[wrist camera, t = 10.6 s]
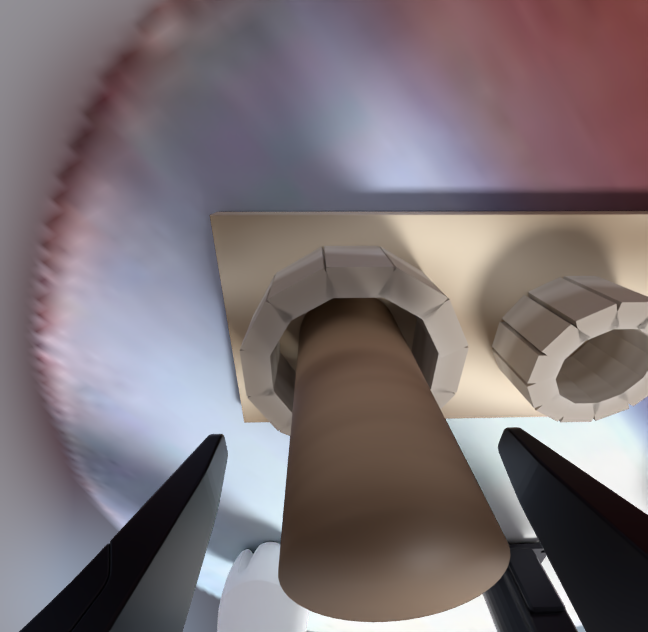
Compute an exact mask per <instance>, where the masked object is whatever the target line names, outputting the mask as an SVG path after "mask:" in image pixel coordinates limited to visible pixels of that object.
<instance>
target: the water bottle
mask: <svg viewBox="0 0 648 632" xmlns="http://www.w3.org/2000/svg"><path fill="white" fill-rule="evenodd" d="M279 555H280V544H279V543H276V542H265V543H263V544H260V545H259V547H258V548H257V549H256V551H255V552H254V554H253V553H252V552H251V551H250V550H249V549H246V550H243V551H242V552H241V553H240V554H239V555H238V557H237V559H236V560H235V562H234V563H233V565H232V567H231V569H230V571H229V574H228V576H227V579H226V582H225V585H224V589H223V593H222V597H221V601H220V606H219V612H218V628H217V632H306V630H307V624H308V618H309V610H308V609H305V608H303V607H302V606H300V605H298V604H297V603H295V602H294V601H293V600H291V599H290V598H289V597H288V596H287V595H286V593H285V592H284V591H283V589H282V587H281V586H280V583H279V579H278V566H279Z"/></svg>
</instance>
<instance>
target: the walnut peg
mask: <svg viewBox="0 0 648 632" xmlns="http://www.w3.org/2000/svg"><path fill="white" fill-rule="evenodd" d="M509 561H510V547H509V545H508V542H507V540H506V538H505V536H504V534H503V532H502V530H501V528H500V526H499V524H498V522H497V520H496V518H495V516H494V514H493V512H492V510H491V508H490V506H489V504H488V502H487V500H486V498H485V496H484V494H483V492H482V490H481V488H480V486H479V484H478V482H477V480H476V478H475V476H474V474H473V473H472V471H471V469H470V467H469V465H468V463H467V461H466V459H465V457H464V455H463V453H462V451H461V449H460V447H459V445H458V443H457V441H456V439H455V437H454V435H453V433H452V431H451V429H450V427H449V425H448V423H447V421H446V419H445V417H444V415H443V413H442V411H441V409H440V407H439V405H438V404H437V402H436V400H435V398H434V396H433V394H432V392H431V390H430V388H429V386H428V384H427V382H426V380H425V378H424V376H423V374H422V372H421V370H420V368H419V366H418V364H417V362H416V360H415V358H414V356H413V354H412V352H411V350H410V348H409V346H408V344H407V342H406V340H405V338H404V336H403V335H402V333H401V331H400V329H399V327H398V325H397V323H396V321H395V319H394V317H393V315H392V313H391V312H390V310H389V309H388V307H387V306H386V305H385V304H384V303H382V302H381V301H380V300H378V299H377V298H332V299H331V300H329V301H327V302H325V303H323V304H321V305H319V306H317V307H316V308H314V309H312V310H310V311H308V312H307V314H306V315H305V317H304V319H303V321H302V324H301V328H300V335H299V346H298V357H297V368H296V379H295V390H294V401H293V412H292V423H291V434H290V445H289V456H288V467H287V478H286V489H285V500H284V511H283V522H282V533H281V544H280V555H279V566H278V579H279V583H280V586H281V587H282V589H283V591H284V592H285V593H286V595H287V596H288V597H289V598H290V599H291V600H293V601H294V602H295V603H297V604H298V605H300V606H302V607H303V608H305V609H308V610H310V611H312V612H315V613H318V614H321V615H324V616H328V617H332V618H336V619H342V620H349V621H360V622H388V621H400V620H408V619H414V618H420V617H425V616H429V615H433V614H437V613H440V612H444V611H447V610H449V609H452V608H455V607H458V606H460V605H462V604H464V603H467V602H469V601H471V600H472V599H474V598H476V597H478V596H480V595H481V594H483V593H484V592H486V591H487V590H488V589H490V588H491V587H492V586H493V585H494V584H495V583H496V582H497V581H498V580H499V579H500V578H501V577H502V575H503V574H504V573H505V571H506V569H507V567H508V565H509Z"/></svg>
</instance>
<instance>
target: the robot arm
mask: <svg viewBox="0 0 648 632" xmlns="http://www.w3.org/2000/svg"><path fill="white" fill-rule="evenodd" d="M498 450H499V454H500V456H501V459H502V461H503V464H504V466H505V469H506V471H507V474H508V476H509V478H510V481H511V483H512V486H513V488H514V491H515V493H516V496H517V498H518V500H519V502H520V504H521V506H522V508H523V510H524V512H525V514H526V516H527V518H528V520H529V522H530V524H531V526H532V528H533V530H534V532H535V534H536V536H537V538H538V540H539V541H540V543H541V544H508V545H509V547H510V561H509V565H508V567H507V569H506V571H505V573H504V574H503V575H502V577H501V578H500V579H499V580H498V581H497V582H496V583H495V584H494V585H493V586H492V587H491V588H490V589H488V590H487V591H486V592H484V593H483V596H484V599H485V601H486V604H487V606H488V609H489V611H490V614H491V617H492V619H493V622H494V624H495V627H496V629H497V632H578V631H577V629H576V627H575V625H574V623H573V622H572V620H571V618H570V616H569V614H568V613H567V611H566V609H565V605H564V604H563V602H562V600H561V598H560V597H559V595H558V593H557V591H556V589H555V588H554V586H553V584H552V582H551V581H550V579H549V577H548V575H547V573H546V572H545V570H544V568H543V566H542V565H541V563H542V561H543V560H544V558H545V557H546V555H547V557H548V559H549V561H550V563H551V565H552V567H553V569H554V571H555V572H556V574H557V576H558V578H559V580H560V582H561V584H562V586H563V588H564V590H565V592H566V594H567V596H568V598H569V600H570V602H571V603H572V605H573V607H574V609H575V611H576V613H577V615H578V617H579V619H580V621H581V623H582V625H583V627H584V629H585V631H586V632H648V515H647V514H645V513H644V512H642V511H641V510H640V509H638V508H637V507H635V506H634V505H632V504H631V503H629V502H628V501H626V500H625V499H623V498H622V497H621V496H619V495H618V494H616V493H615V492H613V491H612V490H610V489H609V488H607V487H606V486H604V485H603V484H601V483H600V482H599V481H597V480H596V479H594V478H593V477H591V476H590V475H588V474H587V473H585V472H584V471H582V470H581V469H580V468H578V467H577V466H575V465H574V464H572V463H571V462H569V461H568V460H566V459H565V458H563V457H562V456H560V455H559V454H558V453H556V452H555V451H553V450H552V449H550V448H549V447H547V446H546V445H544V444H543V443H541V442H540V441H539V440H537V439H536V438H534V437H533V436H531V435H530V434H528V433H527V432H525V431H524V430H522V429H521V428H517V427H513V428H506V429H504V431H503V434H502V436H501V439H500V441H499V444H498ZM227 457H228V451H227V446H226V442H225V437H224V435H223V434H211V435H209V436H208V437H207V438H206V439H205V440H204V441H203V442H202V443H201V444H200V445H199V446H198V447H197V449H196V450H195V451H194V452H193V453H192V454H191V455H190V456H189V457H188V458H187V459H186V460H185V461H184V462H183V464H182V465H181V466H180V467H179V468H178V469H177V470H176V471H175V472H174V473H173V474H172V475H171V476H170V477H169V479H168V480H167V481H166V482H165V483H164V484H163V485H162V486H161V487H160V488H159V489H158V490H157V491H156V492H155V494H154V495H153V496H152V497H151V498H150V499H149V500H148V501H147V502H146V503H145V504H144V505H143V506H142V507H141V509H140V510H139V511H138V512H137V513H136V514H135V515H134V516H133V517H132V518H131V519H130V520H129V521H128V522H127V524H126V525H125V526H124V527H123V528H122V529H121V530H120V531H119V532H118V533H117V535H115V536H114V538H113V539H112V540H111V541H110V544H107V545H106V546H105V547H104V548H103V549H102V550H101V551H100V552H99V554H97V556H96V557H95V558H94V559H93V560H92V561H91V562H90V563H89V564H88V565H87V566H86V567H85V568H84V569H83V570H82V571H81V572H80V573H79V575H77V576H76V577H75V578H74V580H73V581H72V582H71V583H70V584H68V585H67V586H66V588H64V589H63V590H62V591H61V592H60V593H59V594H58V595H57V596H56V597H55V598H54V599H53V600H52V601H51V602H50V603H49V604H48V605H47V606H46V607H45V608H44V609H43V610H42V611H41V612H40V613H38V614H37V615H36V616H35V617H34V618H33V619H32V620H31V621H30V622H29V623H28V624H27V625H26V626H25V627H24V628H23V629H22V630H20V631H19V632H183V628H184V625H185V621H186V618H187V614H188V611H189V608H190V604H191V601H192V598H193V594H194V591H195V587H196V584H197V580H198V577H199V574H200V570H201V567H202V563H203V560H204V556H205V553H206V550H207V546H208V543H209V539H210V536H211V532H212V529H213V526H214V522H215V519H216V515H217V511H218V506H219V502H220V496H221V491H222V485H223V480H224V474H225V469H226V464H227Z"/></svg>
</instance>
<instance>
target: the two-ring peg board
mask: <svg viewBox="0 0 648 632" xmlns="http://www.w3.org/2000/svg"><path fill="white" fill-rule="evenodd" d="M210 221H211V227H212V232H213V238H214V244H215V250H216V256H217V262H218V268H219V274H220V280H221V286H222V292H223V298H224V304H225V310H226V316H227V322H228V328H229V334H230V340H231V346H232V352H233V358H234V364H235V370H236V376H237V382H238V388H239V393H240V399H241V405H242V411H243V417H244V422H270V423H271V424H272V425H273V426H274V427H275V428H276V429H277V430H278V431H279V430H280V432H281V433H284V434H286V435H289V436H290V434H291V423H292V412H293V401H294V390H295V379H296V368H297V357H298V346H299V335H300V328H301V324H302V321H303V319H304V317H305V315H306V314H307V312H308V311H310V310H312V309H314V308H316V307H317V306H319V305H321V304H323V303H325V302H327V301H329V300H331V299H332V298H377V299H378V300H380V301H381V302H382V303H384V304H385V305H386V306H387V307H388V309H389V310H390V312H391V313H392V315H393V317H394V319H395V321H396V323H397V325H398V327H399V329H400V331H401V333H402V335H403V336H404V338H405V340H406V342H407V344H408V346H409V348H410V350H411V352H412V354H413V356H414V358H415V360H416V362H417V364H418V366H419V368H420V370H421V372H422V374H423V376H424V378H425V380H426V382H427V384H428V386H429V388H430V390H431V392H432V394H433V396H434V398H435V400H436V402H437V404H438V405H439V407H440V409H441V411H442V413H443V415H444V417H445V419H446V418H496V417H547V416H548V417H550V418H552V419H554V420H556V421H560V422H591V421H592V419H594V420H595V421H596V420H599V419H602V418H605V417H607V416H610V415H613V414H616V413H618V412H621V411H624V410H627V409H629V404H630V405H632V406H635V405H636V404H637V403H639V402H640V401H642V400H643V399H644V398H646V397H647V396H648V211H423V212H215V213H214V214H212V215H210ZM628 403H629V404H628Z"/></svg>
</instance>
